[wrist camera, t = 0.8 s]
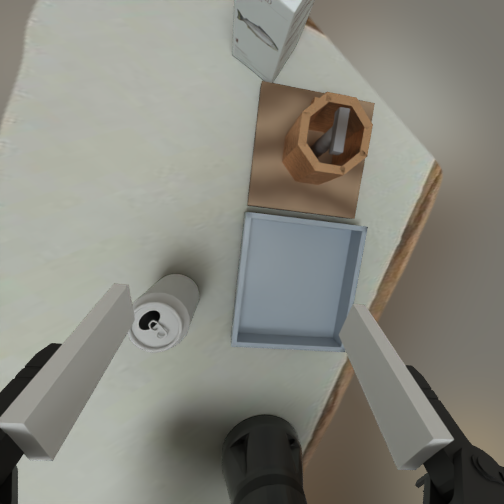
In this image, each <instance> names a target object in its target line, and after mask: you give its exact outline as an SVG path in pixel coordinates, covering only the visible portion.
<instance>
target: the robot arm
mask: <svg viewBox="0 0 504 504" xmlns="http://www.w3.org/2000/svg"><path fill="white" fill-rule="evenodd" d="M134 321H135V317H134V312H133V307H132V301H131V296H130V291H129V285H127V284H115V283H114V284H113V285H112V287H111V288H110V289H109V290H108V291H107V292H106V294H105V295H104V296H103V297H102V298H101V299H100V301H99V302H98V303H97V304H96V305H95V306H94V308H93V309H92V310H91V311H90V312H89V314H88V315H87V316H86V317H85V318H84V319H83V321H82V322H81V323H80V324H79V325H78V326H77V328H76V329H75V330H74V331H73V332H72V333H71V335H70V336H69V337H68V338H67V339H66V340H65V342H64V343H63V344H56V343H51V344H50V345H48V346H47V347H45V348H44V349H42V350H41V351H40V352H38V353H37V354H36V355H35V356H34V357H33V358H32V359H31V360H30V361H29V362H28V363H27V364H26V365H25V368H23V369H22V370H21V371H20V372H19V373H18V374H17V375H16V376H15V379H12V380H11V382H10V383H9V384H8V385H7V386H6V387H5V388H4V389H3V390H2V391H1V392H0V504H18V469H17V466H16V464H17V463H18V461H19V460H20V458H21V457H22V455H23V454H25V455H26V457H27V458H28V459H29V460H37V461H53V460H54V458H55V456H56V454H57V453H58V451H59V449H60V448H61V446H62V444H63V442H64V441H65V439H66V437H67V436H68V434H69V432H70V430H71V429H72V427H73V425H74V424H75V422H76V420H77V418H78V417H79V415H80V413H81V412H82V410H83V408H84V406H85V405H86V403H87V401H88V400H89V398H90V396H91V394H92V393H93V391H94V389H95V388H96V386H97V384H98V382H99V381H100V379H101V377H102V376H103V374H104V372H105V370H106V369H107V367H108V365H109V364H110V362H111V360H112V358H113V357H114V355H115V353H116V352H117V350H118V348H119V346H120V345H121V343H122V341H123V340H124V338H125V336H126V334H127V333H128V331H129V329H130V328H131V326H132V324H133V322H134ZM339 337H340V339H341V342H342V344H343V346H344V348H345V351H346V353H347V355H348V357H349V360H350V362H351V364H352V367H353V369H354V371H355V373H356V376H357V378H358V380H359V383H360V385H361V387H362V389H363V392H364V394H365V396H366V398H367V401H368V403H369V405H370V407H371V410H372V412H373V414H374V417H375V419H376V421H377V424H378V426H379V428H380V430H381V433H382V435H383V437H384V439H385V442H386V444H387V446H388V449H389V451H390V453H391V456H392V457H393V460H394V462H395V465H396V467H397V469H398V470H416V469H417V468H419V467H420V466H421V465H422V464H423V465H424V466H425V468H426V470H427V472H428V473H427V474H425V475H424V476H422V477H421V478H420V479H418V480H417V482H416V486H417V487H418V488H419V487H421V486H422V485H423V484H424V491H423V492H424V497H423V504H504V467H502V466H499V465H498V464H497V462H496V461H495V460H494V459H493V458H492V457H491V456H489V455H488V454H487V453H485V452H484V451H483V450H481V449H479V448H477V447H475V446H473V445H472V444H471V443H470V442H469V441H468V439H467V438H466V437H465V435H464V434H463V432H462V431H461V430H460V428H459V427H458V425H457V424H456V422H455V421H454V420H453V418H452V417H451V415H450V414H449V412H448V411H447V410H446V409H445V407H444V405H443V404H442V403H441V401H439V400H438V397H437V395H436V394H435V393H434V391H433V390H431V387H430V386H429V384H428V383H427V381H426V380H425V379H424V377H423V376H422V375H421V374H420V373H419V372H418V371H417V370H416V369H415V368H414V367H413V366H408V365H405V364H404V363H403V362H402V360H401V359H400V357H399V356H398V354H397V352H396V351H395V349H394V348H393V346H392V345H391V343H390V342H389V340H388V339H387V337H386V336H385V334H384V333H383V331H382V330H381V328H380V327H379V325H378V324H377V322H376V321H375V319H374V318H373V316H372V315H371V313H370V312H369V310H368V309H367V307H366V306H365V305H361V304H353V305H352V307H351V309H350V311H349V313H348V316H347V318H346V320H345V322H344V324H343V326H342V329H341V331H340V333H339ZM222 471H223V475H224V479H225V482H226V486H227V490H228V493H229V497H230V500H231V504H307V501H306V498H305V494H304V491H303V467H302V449H301V445H300V442H299V439H298V436H297V433H296V431H295V430H294V428H293V427H292V426H291V425H290V424H289V423H288V422H287V421H285V420H283V419H281V418H278V417H275V416H269V415H262V416H256V417H252V418H249V419H247V420H245V421H243V422H241V423H240V424H238V425H237V426H236V427H235V428H233V429H232V431H231V432H230V433H229V434H228V436H227V437H226V439H225V442H224V444H223V448H222Z"/></svg>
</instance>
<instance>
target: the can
mask: <svg viewBox="0 0 504 504" xmlns="http://www.w3.org/2000/svg"><path fill="white" fill-rule="evenodd" d="M198 302H199V290H198V287H197V285H196V284H195V283H194V281H193V280H191V279H190V278H189V277H187V276H184V275H181V274H171V275H167V276H165V277H163V278H162V279H160V280H159V281H158V282H157V283H155V284H154V285H153V286H152V287H151V288H150V289H148V290H147V291H146V292H145V293H144V294H143V295H142V296H140V297H139V298H138V299H137V300H136V301H135V302H134V303H133V305H132V307H133V312H134V317H135V321H134V322H133V324H132V326H131V328H130V329H129V331H128V333H127V334H128V336H129V339H130V340H131V341H132V343H133V344H134V345H135V346H137V347H138V348H140V349H141V350H144V351H148V352H162V351H165V350H168V349H169V348H172V347H174V346H175V345H177V344H178V343H180V342H181V341H182V340H183V339H184V337H185V336H186V335H187V332H188V329H189V327H190V324H191V321H192V318H193V316H194V313H195V310H196V307H197V305H198Z"/></svg>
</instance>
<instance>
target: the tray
mask: <svg viewBox="0 0 504 504" xmlns="http://www.w3.org/2000/svg"><path fill="white" fill-rule="evenodd" d="M367 228H368V227H365V226H357V225H349V224H341V223H333V222H325V221H317V220H308V219H300V218H292V217H284V216H276V215H268V214H260V213H252V212H245V214H244V223H243V232H242V241H241V250H240V259H239V268H238V277H237V286H236V295H235V304H234V313H233V322H232V331H231V346H232V347H253V348H273V349H294V350H314V351H335V352H345V348H344V346H343V344H342V342H341V339H340V337H339V333H340V331H341V329H342V326H343V324H344V322H345V320H346V318H347V316H348V313H349V311H350V309H351V307H352V305H353V304H354V299H355V293H356V288H357V283H358V277H359V272H360V266H361V261H362V255H363V250H364V245H365V239H366V234H367Z"/></svg>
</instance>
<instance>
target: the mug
mask: <svg viewBox="0 0 504 504" xmlns="http://www.w3.org/2000/svg"><path fill="white" fill-rule="evenodd" d="M340 107H344V108H349V109H350V112H349V118H348V124H347V130H346V137H345V143H344V149H343V153H341V154H340V155H333V156H332V162H331V164H325V163H320V162H319V161H318V159H317V158H316V156H315V155H314V153H313V152H312V150H311V149H310V147H309V146H308V144H307V143H306V142H307V135H308V130H314V131H319V132H324V134H325V133H326V132H327V131H328V130H329V129H330V128H331V127H332V126H333V122H334V116H335V112H336V111H337V110H338V109H339V108H340ZM372 126H373V124H372V123H371V121H370V119H369V118H368V116H367V114H366V113H365V111H364V109H363V108H362V106H361V104H360V103H359V101H358V99H357V98H355V97H350V96H345V95H340V94H335V93H330V92H326V93H325V94H324V95H323V96H321V97H320V98H318V97H314V99H313V100H312V102H311V105H310V106H309V107H308V108H306V109H305V110H304V111H302V113H301V114H300V116H299V117H298V119H297V120H296V122H295V123H294V125H293V126H292V127H291V129H290V130H289V132H288V133H287V135H286V136H285V142H284V150H283V158H282V163H283V164H284V166H285V167H286V169H287V170H288V172H289V173H290V174H291V176H292V177H293V179H294V180H295V181H296V182H300V183H307V184H314V185H320V184H322V183H325V182H328V181H330V180H333V179H335V178H338V177H340V176H343V175H344V174H346V173H347V172H348V171H349V170H351V169H352V168H353V167H354V166H356V165H357V164H358V163H359V162H361V161H362V160H363V159H364V158H366V157H367V154H368V148H369V143H370V137H371V131H372Z"/></svg>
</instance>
